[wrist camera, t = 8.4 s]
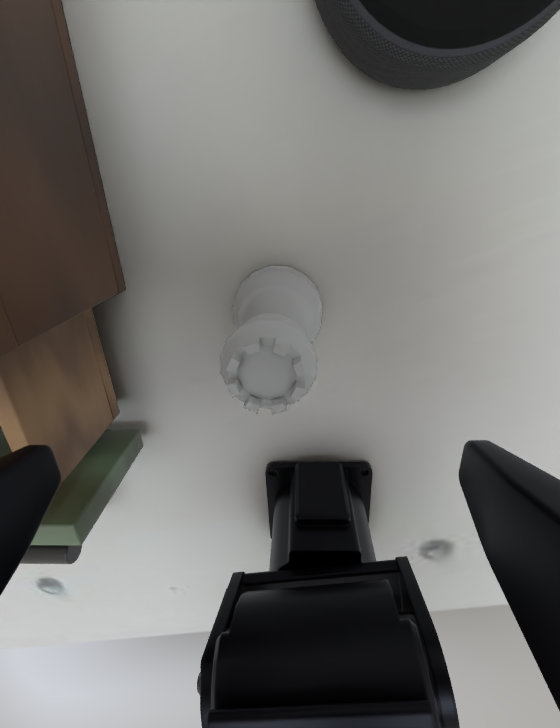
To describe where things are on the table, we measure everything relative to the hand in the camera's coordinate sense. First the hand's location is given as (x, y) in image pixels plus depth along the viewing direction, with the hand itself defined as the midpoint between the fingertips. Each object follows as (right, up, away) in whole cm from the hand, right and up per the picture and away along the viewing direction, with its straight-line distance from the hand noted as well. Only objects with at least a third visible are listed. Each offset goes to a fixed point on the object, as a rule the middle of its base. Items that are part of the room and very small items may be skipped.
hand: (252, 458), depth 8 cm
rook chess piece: (+1, +5, +11) cm, 12 cm away
